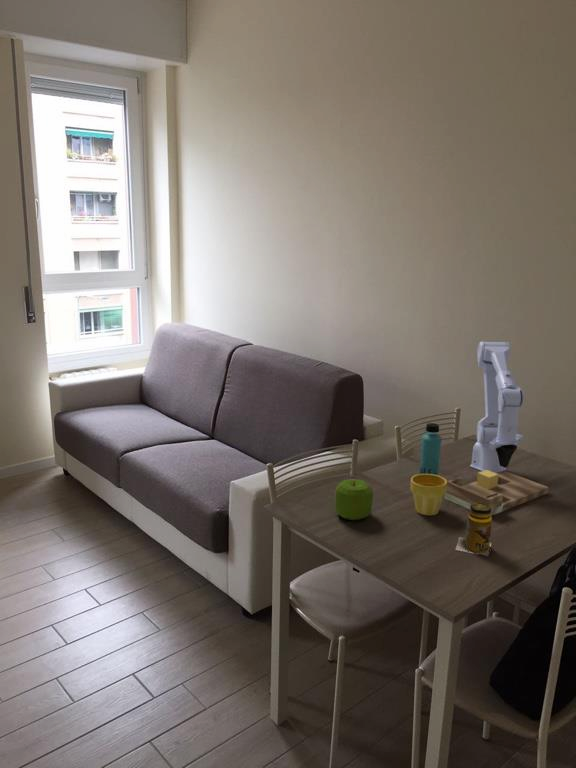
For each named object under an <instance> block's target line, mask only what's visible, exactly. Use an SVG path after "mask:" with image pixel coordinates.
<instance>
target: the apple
mask: <svg viewBox="0 0 576 768" xmlns="http://www.w3.org/2000/svg"><path fill="white" fill-rule="evenodd" d="M373 499H374V493H373V488H372V487H371V486H370V485H369V484H368V483H367V482H366V481H365V480H361V479H357V478H356V479H355V478H353V479H352V478H347V479H344V480H342V481H341V482H339V483H338V484H337V485H336V487H335V491H334V507H335V513H336V514H337V515H339V516H340V517H341V518H342V519H344V520H347V519H348V520H349V521H358V520H361V519H364V518H367V517H368V516H369V515H370V514H371V512H372V507H373ZM348 520H347V521H348Z"/></svg>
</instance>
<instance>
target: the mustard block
mask: <svg viewBox="0 0 576 768" xmlns="http://www.w3.org/2000/svg"><path fill="white" fill-rule="evenodd" d="M498 475H499V474H498V473H494V472H491V471H489V470H485V471H479V472H477V475H476V481H477V485H479V486H481V487H483V488H486V489H491V488H494V487H496V486H497V485H498Z"/></svg>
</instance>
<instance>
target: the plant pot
mask: <svg viewBox="0 0 576 768" xmlns="http://www.w3.org/2000/svg"><path fill="white" fill-rule="evenodd" d="M447 481H448V480H447V479H446V478H444V477H443V476H440V475H439V476H438V475H433V474H420V473H418V474H414V475H413V476H412V477H411V478H410V491H411V492H412V495H413V501H414V507H415V508H414V509H415V511H416V512H417V513H418V514H420V515H423V516H436V515H437V514H439V512H440V509H441V505H442V502H443V499H444V495H445V494H446V490H447Z"/></svg>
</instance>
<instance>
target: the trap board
mask: <svg viewBox="0 0 576 768" xmlns="http://www.w3.org/2000/svg"><path fill="white" fill-rule="evenodd" d="M497 474H499V475H498V485H497V486H496V487H494V488H491V489H486V488H483V487H481V486H479V485H477V480H476V481H472V482H469V483H468V484H464V485H463V477H462V476H458V477H455V478H451V479H449V480H446V481H447V490H446V494H445V495H443V499H445V500H448V501H450V502H452V503H454V504H457V505H458V506H461V507H463V508H465V509H467V510H469V511H470V506H471V504H473V503H484V504H487V505H489V506H490V507H491V517H493V516H494V515H497V514H499V513H503V512H505V511H507V510H509V509H512V508H514V507H516V506H519V505H522V504H524V503H527V502H529V501H532V500H535V499H537V498H539V497H542V496H545V495H547V494H549V486H547V485H544V484H542V483H538V482H536V481H533V480H531V479H529V478H525V477H522V476H520V475H518V474H514V473H512V472H509V471H507V470H505V471H502V472H499V473H497Z"/></svg>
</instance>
